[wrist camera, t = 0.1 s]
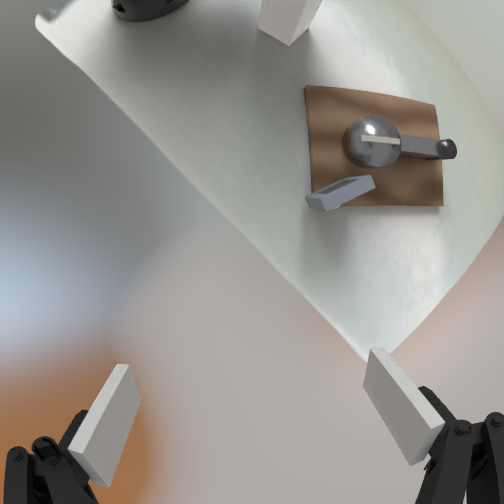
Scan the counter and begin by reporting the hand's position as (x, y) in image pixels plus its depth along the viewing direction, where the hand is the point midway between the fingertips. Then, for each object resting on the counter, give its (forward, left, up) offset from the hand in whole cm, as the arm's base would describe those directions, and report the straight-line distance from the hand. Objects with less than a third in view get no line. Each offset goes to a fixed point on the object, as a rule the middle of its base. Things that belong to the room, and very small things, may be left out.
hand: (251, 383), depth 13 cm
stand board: (-16, +23, -28) cm, 39 cm away
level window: (-9, +13, -26) cm, 31 cm away
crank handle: (-16, +24, -26) cm, 39 cm away
